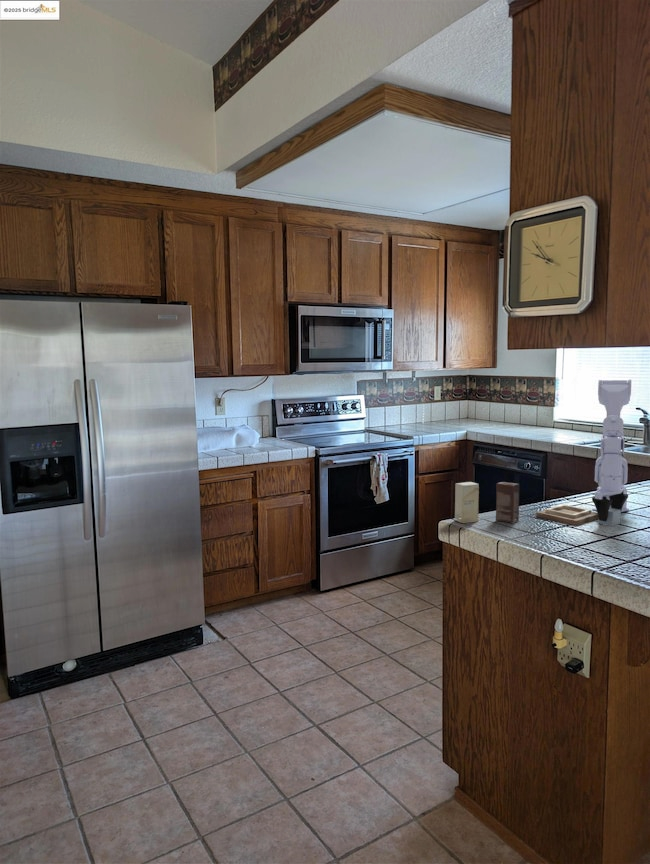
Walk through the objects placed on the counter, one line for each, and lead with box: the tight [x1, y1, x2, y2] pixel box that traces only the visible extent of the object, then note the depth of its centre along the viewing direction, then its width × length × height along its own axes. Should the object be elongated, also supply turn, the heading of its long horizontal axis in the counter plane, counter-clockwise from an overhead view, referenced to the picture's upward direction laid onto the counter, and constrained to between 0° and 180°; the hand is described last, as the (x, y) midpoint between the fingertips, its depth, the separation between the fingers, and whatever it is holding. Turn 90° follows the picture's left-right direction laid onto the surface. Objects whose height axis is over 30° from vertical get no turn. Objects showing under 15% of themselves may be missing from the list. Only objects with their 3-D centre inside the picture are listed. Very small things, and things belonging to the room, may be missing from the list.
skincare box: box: [454, 481, 480, 524], centre depth 193 cm, size 6×4×12 cm
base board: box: [535, 504, 598, 526], centre depth 196 cm, size 14×14×2 cm
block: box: [597, 508, 622, 527], centre depth 188 cm, size 4×4×4 cm
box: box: [495, 481, 520, 524], centre depth 193 cm, size 6×4×12 cm
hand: (609, 518), depth 188 cm, fingers open, 7 cm apart
